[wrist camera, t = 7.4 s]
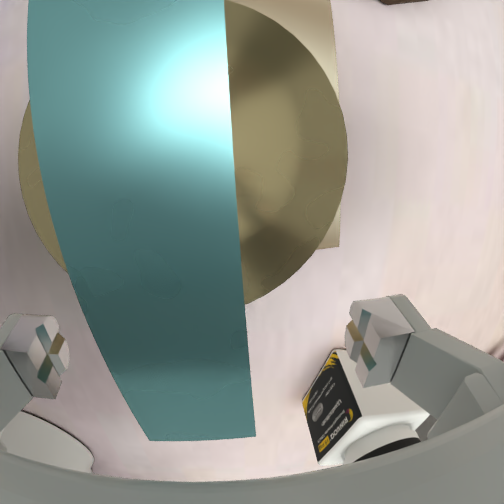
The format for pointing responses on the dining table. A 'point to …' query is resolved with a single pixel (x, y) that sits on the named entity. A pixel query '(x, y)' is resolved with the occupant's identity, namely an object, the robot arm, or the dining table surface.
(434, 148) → the dining table surface
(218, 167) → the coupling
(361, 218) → the dining table surface
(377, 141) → the dining table surface
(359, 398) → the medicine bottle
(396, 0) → the beer bottle
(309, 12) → the square recessed plate
